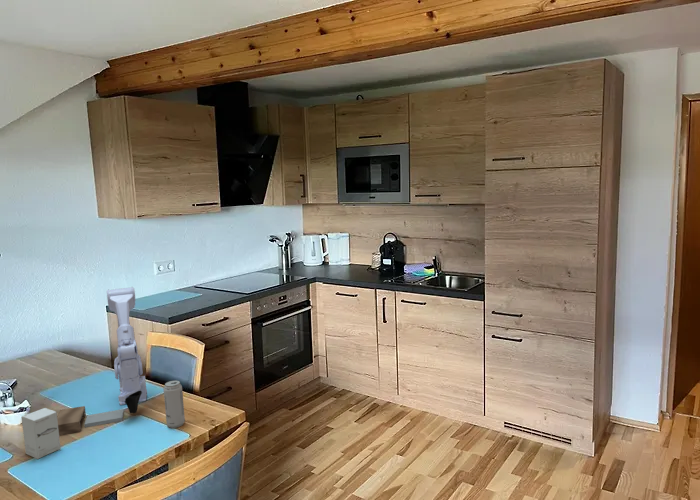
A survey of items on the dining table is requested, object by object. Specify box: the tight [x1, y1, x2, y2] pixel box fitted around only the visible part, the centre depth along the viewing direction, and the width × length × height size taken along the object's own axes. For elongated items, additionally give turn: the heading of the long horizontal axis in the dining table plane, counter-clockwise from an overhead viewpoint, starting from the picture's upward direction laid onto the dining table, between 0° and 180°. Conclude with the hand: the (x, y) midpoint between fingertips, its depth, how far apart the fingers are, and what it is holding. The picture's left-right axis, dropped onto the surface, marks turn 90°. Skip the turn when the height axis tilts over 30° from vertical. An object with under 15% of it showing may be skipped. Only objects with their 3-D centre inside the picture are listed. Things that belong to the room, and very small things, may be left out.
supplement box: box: [21, 407, 61, 460], centre depth 162 cm, size 7×7×13 cm
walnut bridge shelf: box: [57, 405, 87, 436], centre depth 180 cm, size 8×14×4 cm, turn 20°
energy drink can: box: [163, 380, 186, 429], centre depth 177 cm, size 6×6×15 cm
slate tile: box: [84, 408, 125, 428], centre depth 184 cm, size 12×8×2 cm, turn 110°
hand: (133, 412), depth 187 cm, fingers closed
